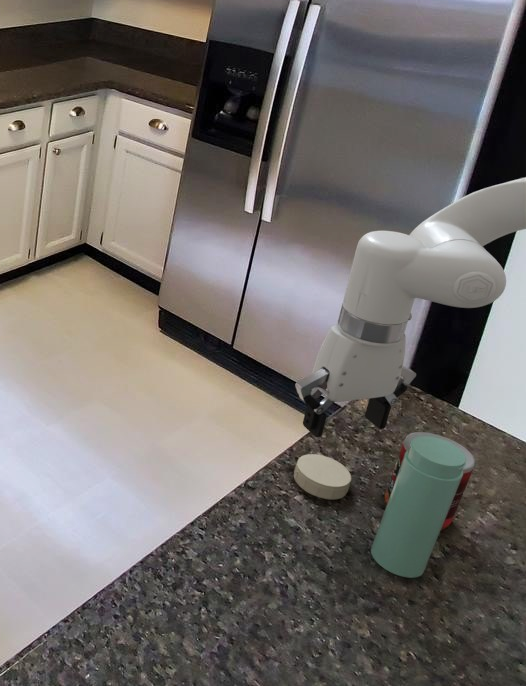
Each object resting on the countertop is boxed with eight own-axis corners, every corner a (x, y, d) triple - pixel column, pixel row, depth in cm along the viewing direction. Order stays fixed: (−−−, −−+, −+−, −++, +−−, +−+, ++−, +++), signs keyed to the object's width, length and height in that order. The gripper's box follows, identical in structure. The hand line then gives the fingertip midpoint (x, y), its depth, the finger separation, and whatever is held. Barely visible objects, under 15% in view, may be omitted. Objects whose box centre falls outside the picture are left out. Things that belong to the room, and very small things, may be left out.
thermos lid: (314, 502, 113) (317, 489, 112) (283, 469, 119) (287, 456, 118) (358, 496, 114) (362, 483, 113) (325, 464, 120) (329, 451, 119)
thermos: (409, 543, 106) (451, 436, 99) (433, 580, 101) (479, 469, 93) (362, 540, 107) (400, 432, 99) (383, 576, 101) (425, 465, 94)
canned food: (382, 485, 116) (404, 424, 112) (448, 505, 112) (473, 443, 108) (382, 518, 110) (404, 456, 106) (451, 541, 107) (478, 477, 102)
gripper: (408, 302, 110) (379, 404, 117) (293, 315, 108) (270, 418, 115) (453, 330, 103) (418, 436, 110) (331, 344, 101) (304, 451, 108)
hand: (343, 427), depth 112 cm, fingers open, 9 cm apart
